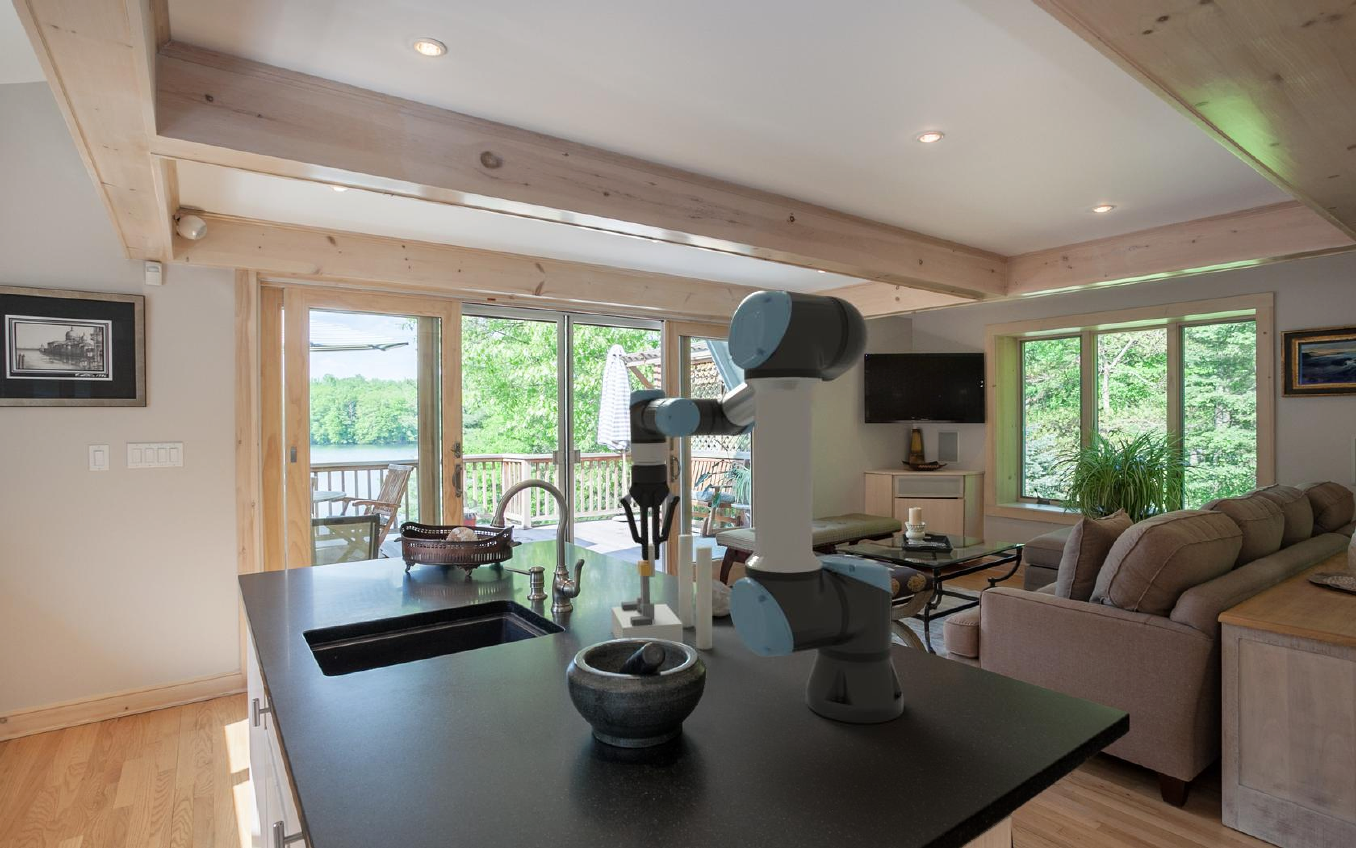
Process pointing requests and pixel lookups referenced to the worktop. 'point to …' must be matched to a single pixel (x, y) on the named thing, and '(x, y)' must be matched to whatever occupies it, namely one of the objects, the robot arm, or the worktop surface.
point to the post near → (704, 597)
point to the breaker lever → (644, 581)
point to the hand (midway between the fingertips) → (651, 575)
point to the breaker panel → (646, 621)
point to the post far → (685, 579)
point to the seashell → (719, 598)
